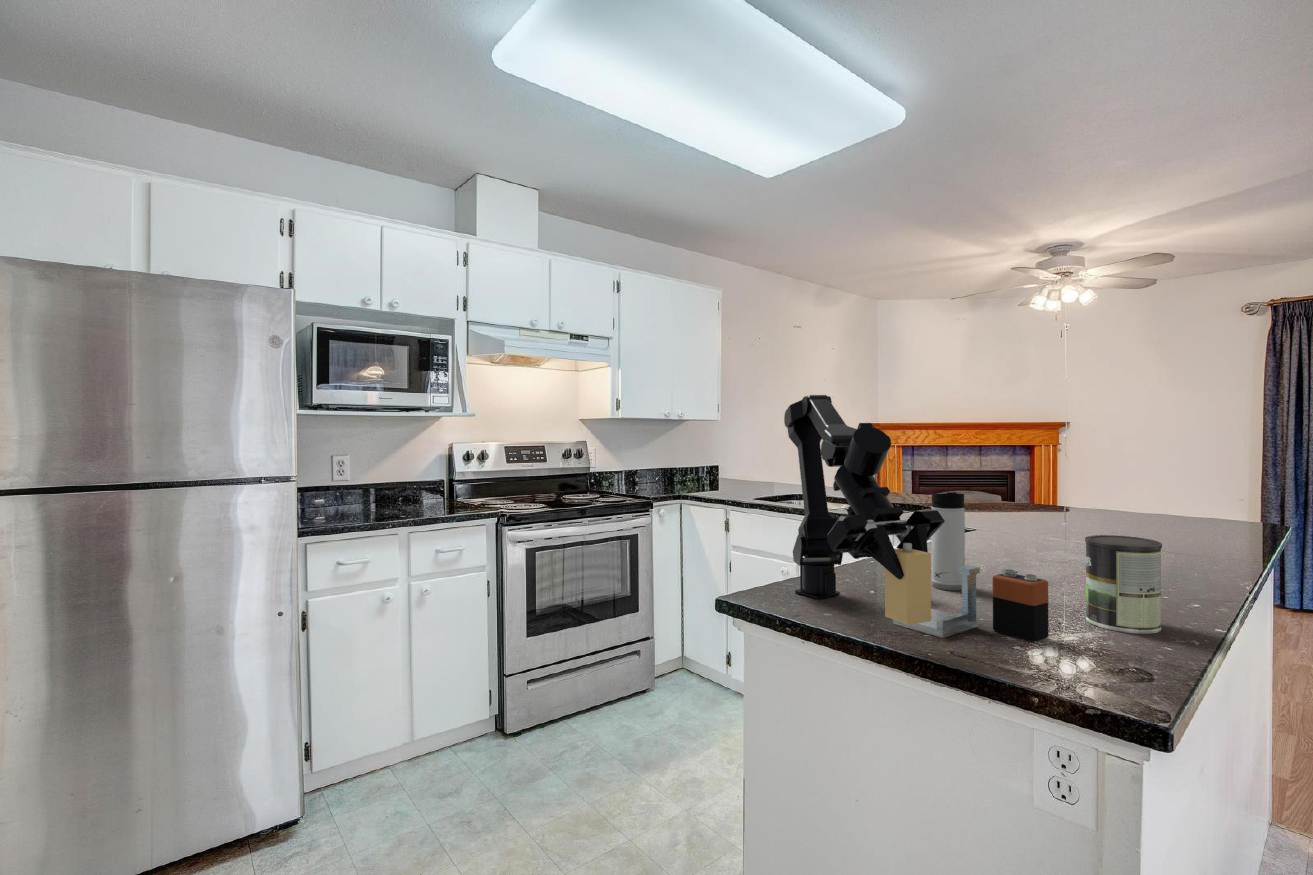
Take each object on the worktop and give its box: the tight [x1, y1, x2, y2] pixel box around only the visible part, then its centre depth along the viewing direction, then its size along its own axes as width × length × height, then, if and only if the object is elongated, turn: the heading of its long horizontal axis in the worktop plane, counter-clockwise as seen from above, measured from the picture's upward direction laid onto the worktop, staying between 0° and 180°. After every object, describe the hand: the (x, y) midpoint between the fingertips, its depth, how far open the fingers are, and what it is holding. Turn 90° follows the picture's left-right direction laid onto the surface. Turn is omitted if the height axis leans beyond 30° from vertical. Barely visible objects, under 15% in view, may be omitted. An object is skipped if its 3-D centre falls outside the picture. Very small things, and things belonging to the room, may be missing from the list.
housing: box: [884, 543, 932, 625], centre depth 94 cm, size 4×4×11 cm
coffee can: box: [1084, 534, 1163, 635], centre depth 105 cm, size 10×10×14 cm
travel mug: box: [931, 491, 966, 592], centre depth 131 cm, size 6×7×20 cm
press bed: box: [892, 564, 981, 639], centre depth 106 cm, size 10×10×10 cm
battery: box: [992, 568, 1049, 643], centre depth 101 cm, size 4×7×10 cm, turn 29°
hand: (914, 576), depth 93 cm, fingers closed on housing, 4 cm apart
